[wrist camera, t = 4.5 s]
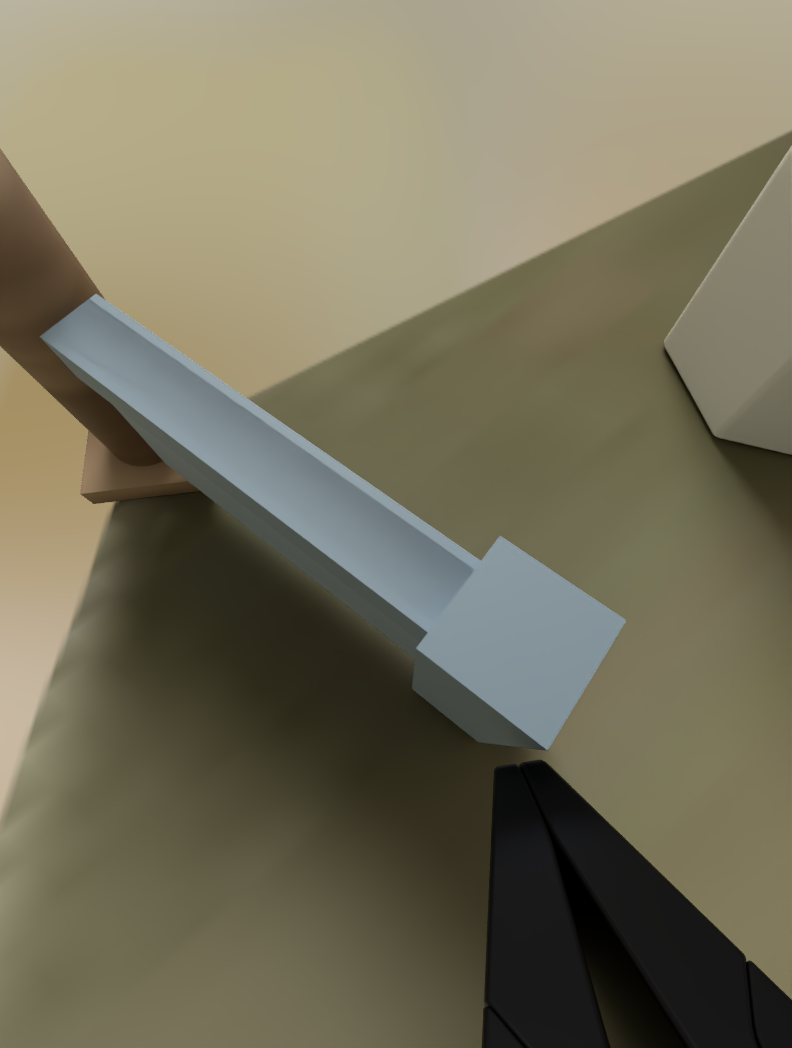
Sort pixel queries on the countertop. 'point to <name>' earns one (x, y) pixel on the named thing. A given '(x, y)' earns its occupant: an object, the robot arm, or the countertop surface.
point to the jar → (745, 327)
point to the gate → (358, 540)
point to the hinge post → (16, 325)
